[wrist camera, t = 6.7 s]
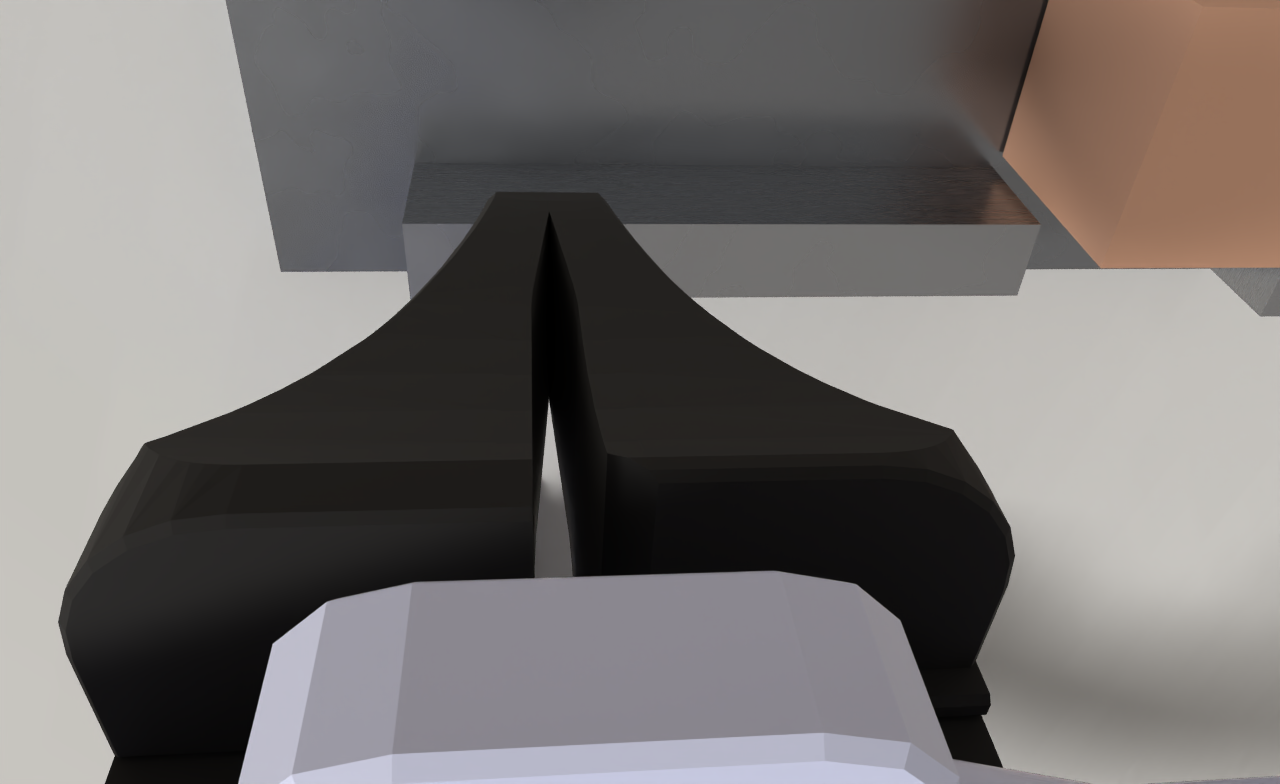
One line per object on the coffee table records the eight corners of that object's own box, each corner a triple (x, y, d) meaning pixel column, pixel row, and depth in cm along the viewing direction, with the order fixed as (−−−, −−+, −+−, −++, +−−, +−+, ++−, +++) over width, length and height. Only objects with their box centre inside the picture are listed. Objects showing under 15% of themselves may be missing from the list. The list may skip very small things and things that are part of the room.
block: (1225, 158, 21) (1366, 267, 17) (1002, 155, 20) (1100, 268, 17) (1324, -63, 18) (1514, 14, 15) (1070, -71, 18) (1203, 6, 14)
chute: (1226, 246, 24) (1317, 329, 21) (289, 247, 22) (255, 339, 19) (1459, -243, 18) (1630, -216, 15) (181, -312, 15) (107, -296, 13)
